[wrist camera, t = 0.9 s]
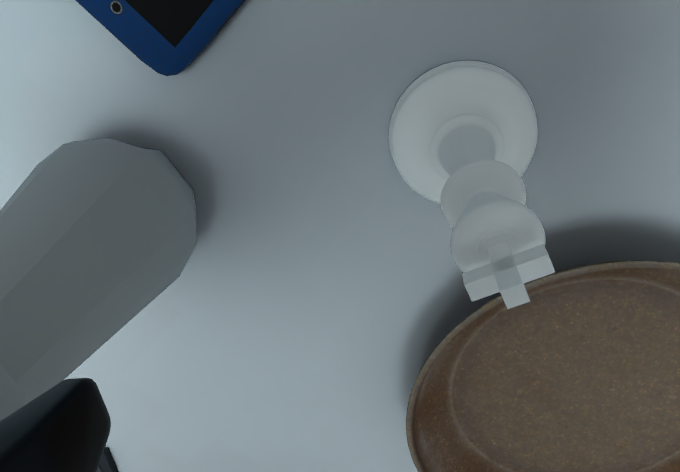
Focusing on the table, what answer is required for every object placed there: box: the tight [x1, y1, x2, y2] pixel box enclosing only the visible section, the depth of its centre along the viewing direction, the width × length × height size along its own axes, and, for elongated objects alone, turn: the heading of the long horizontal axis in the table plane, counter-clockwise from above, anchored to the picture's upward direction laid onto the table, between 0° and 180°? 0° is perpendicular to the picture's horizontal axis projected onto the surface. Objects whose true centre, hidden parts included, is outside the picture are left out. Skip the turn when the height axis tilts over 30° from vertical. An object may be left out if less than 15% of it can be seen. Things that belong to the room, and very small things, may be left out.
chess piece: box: [389, 61, 555, 309], centre depth 15 cm, size 5×5×10 cm
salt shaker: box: [0, 138, 197, 421], centre depth 16 cm, size 6×6×13 cm
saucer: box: [406, 261, 680, 472], centre depth 23 cm, size 15×15×3 cm
